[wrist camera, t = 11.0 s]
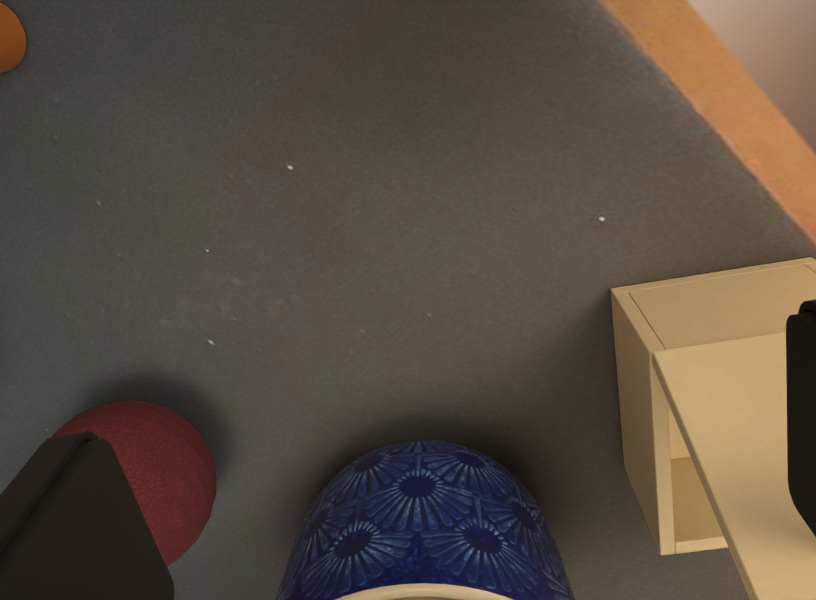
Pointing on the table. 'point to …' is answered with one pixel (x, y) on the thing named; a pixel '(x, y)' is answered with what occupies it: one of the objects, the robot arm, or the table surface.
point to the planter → (424, 532)
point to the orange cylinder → (10, 40)
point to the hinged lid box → (644, 397)
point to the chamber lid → (744, 456)
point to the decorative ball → (158, 467)
